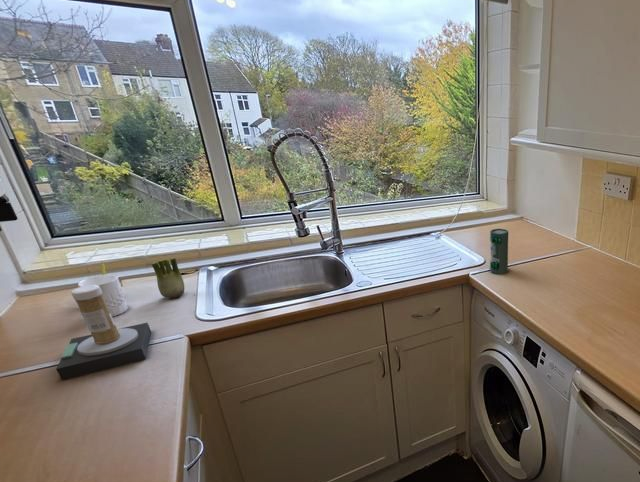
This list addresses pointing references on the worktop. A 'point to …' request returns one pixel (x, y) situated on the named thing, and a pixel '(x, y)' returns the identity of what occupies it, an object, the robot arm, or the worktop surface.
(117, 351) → the scale
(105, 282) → the white cup
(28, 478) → the worktop surface
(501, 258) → the can
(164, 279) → the fennel bulb
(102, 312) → the sprinkles bottle
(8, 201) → the robot arm
